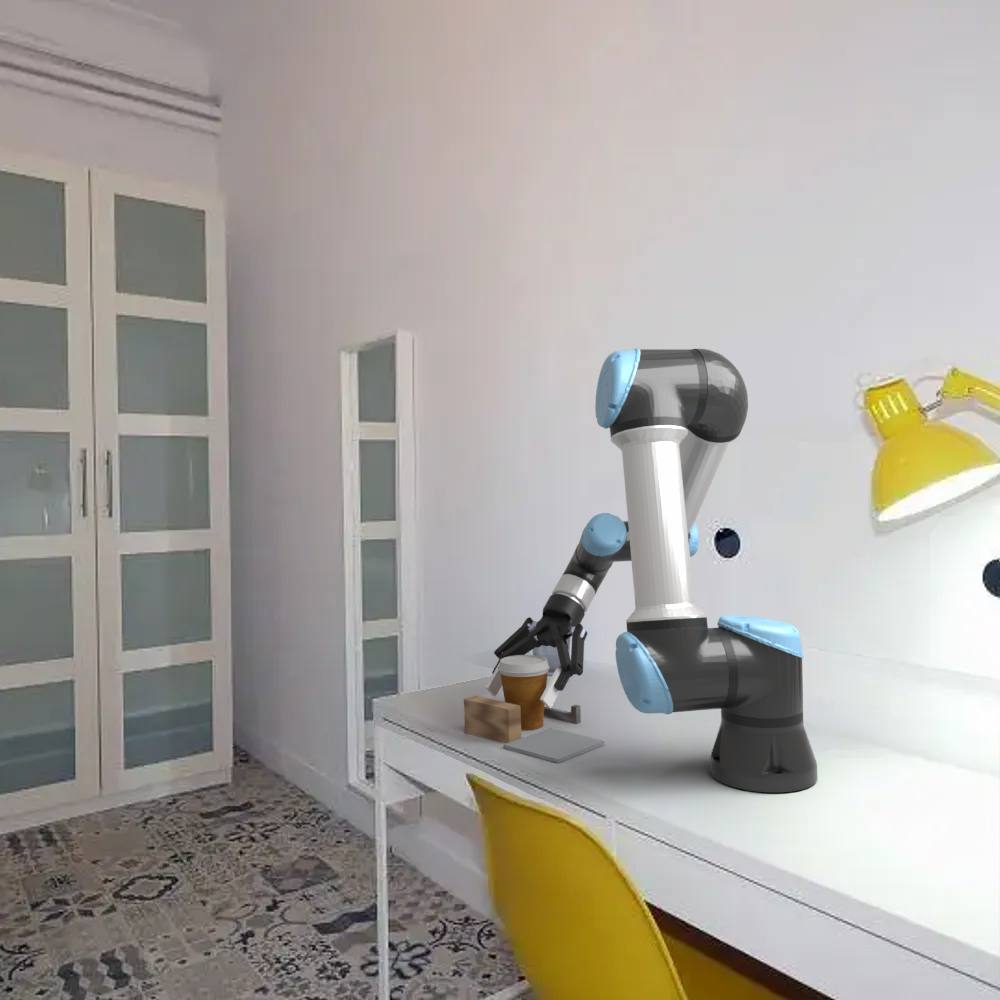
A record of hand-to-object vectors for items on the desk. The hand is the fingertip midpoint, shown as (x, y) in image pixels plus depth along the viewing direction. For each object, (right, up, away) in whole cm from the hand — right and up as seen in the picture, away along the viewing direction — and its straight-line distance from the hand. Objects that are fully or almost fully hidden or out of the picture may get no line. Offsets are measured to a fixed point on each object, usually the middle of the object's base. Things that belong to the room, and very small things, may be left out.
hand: (517, 697), depth 156 cm
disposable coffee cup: (+2, -5, +1) cm, 6 cm away
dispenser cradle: (+1, -5, +1) cm, 5 cm away
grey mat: (+6, -5, -11) cm, 14 cm away
